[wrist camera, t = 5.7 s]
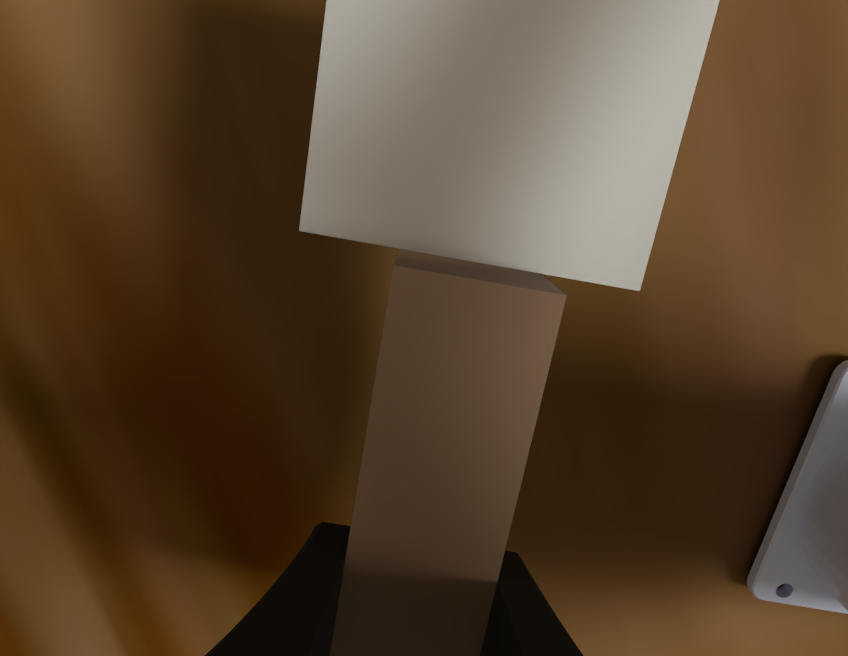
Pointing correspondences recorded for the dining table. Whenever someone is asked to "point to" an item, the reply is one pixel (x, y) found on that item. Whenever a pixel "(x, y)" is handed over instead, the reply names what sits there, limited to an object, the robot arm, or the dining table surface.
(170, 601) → the dining table surface
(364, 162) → the turner
